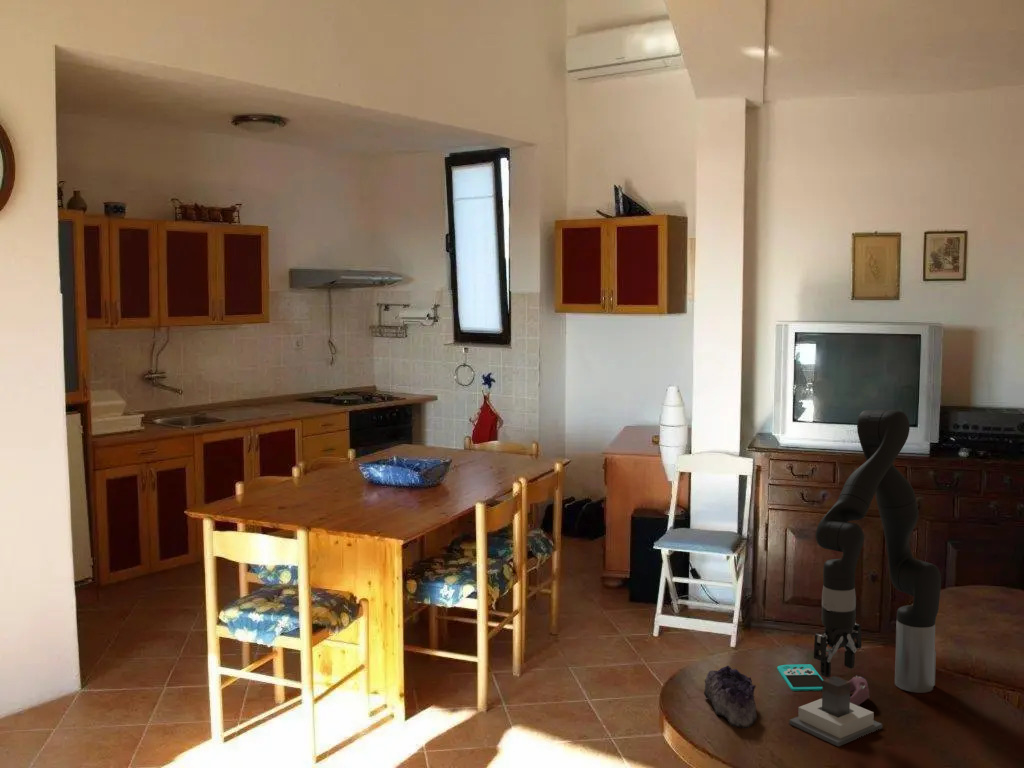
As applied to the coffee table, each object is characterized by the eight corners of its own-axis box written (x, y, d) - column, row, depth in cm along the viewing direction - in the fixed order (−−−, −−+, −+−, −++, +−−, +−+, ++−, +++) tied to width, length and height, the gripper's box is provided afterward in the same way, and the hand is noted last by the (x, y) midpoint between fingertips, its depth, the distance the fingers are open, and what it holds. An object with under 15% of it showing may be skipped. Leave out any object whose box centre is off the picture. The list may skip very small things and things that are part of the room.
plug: (833, 716, 234) (834, 676, 233) (849, 723, 230) (850, 682, 229) (821, 721, 232) (822, 680, 230) (837, 727, 228) (838, 686, 227)
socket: (833, 706, 241) (833, 691, 241) (882, 728, 230) (882, 711, 229) (789, 723, 233) (789, 707, 232) (838, 746, 221) (838, 729, 220)
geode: (774, 727, 231) (769, 688, 230) (726, 736, 230) (722, 697, 229) (745, 689, 251) (741, 652, 250) (701, 697, 250) (697, 660, 249)
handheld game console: (812, 668, 267) (812, 663, 267) (830, 692, 251) (831, 687, 251) (775, 668, 267) (775, 663, 267) (791, 693, 251) (791, 688, 251)
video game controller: (861, 715, 240) (875, 692, 239) (843, 706, 240) (857, 682, 239) (854, 698, 250) (867, 675, 248) (837, 690, 250) (851, 667, 249)
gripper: (844, 594, 235) (843, 659, 237) (805, 606, 227) (804, 674, 229) (871, 603, 229) (870, 669, 231) (832, 615, 221) (831, 684, 223)
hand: (837, 671), depth 230 cm, fingers open, 8 cm apart
